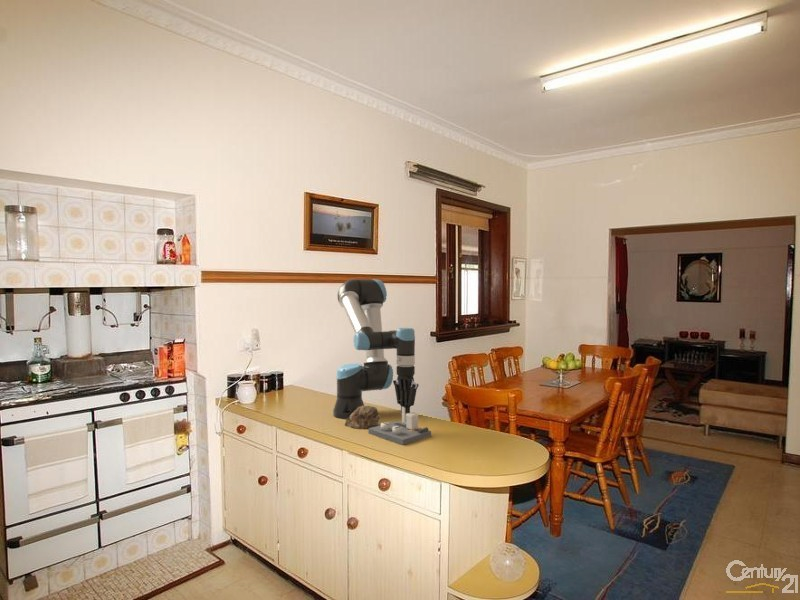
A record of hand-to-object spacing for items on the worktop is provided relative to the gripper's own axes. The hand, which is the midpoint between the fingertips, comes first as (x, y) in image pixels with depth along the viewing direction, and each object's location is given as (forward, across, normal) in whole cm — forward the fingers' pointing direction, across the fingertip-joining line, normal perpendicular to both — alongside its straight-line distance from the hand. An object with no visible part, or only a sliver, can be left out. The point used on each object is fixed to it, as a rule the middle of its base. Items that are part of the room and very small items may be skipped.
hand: (405, 422), depth 197 cm
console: (+4, +1, -5) cm, 6 cm away
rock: (+4, -19, -8) cm, 21 cm away
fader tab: (+2, +4, 0) cm, 4 cm away
